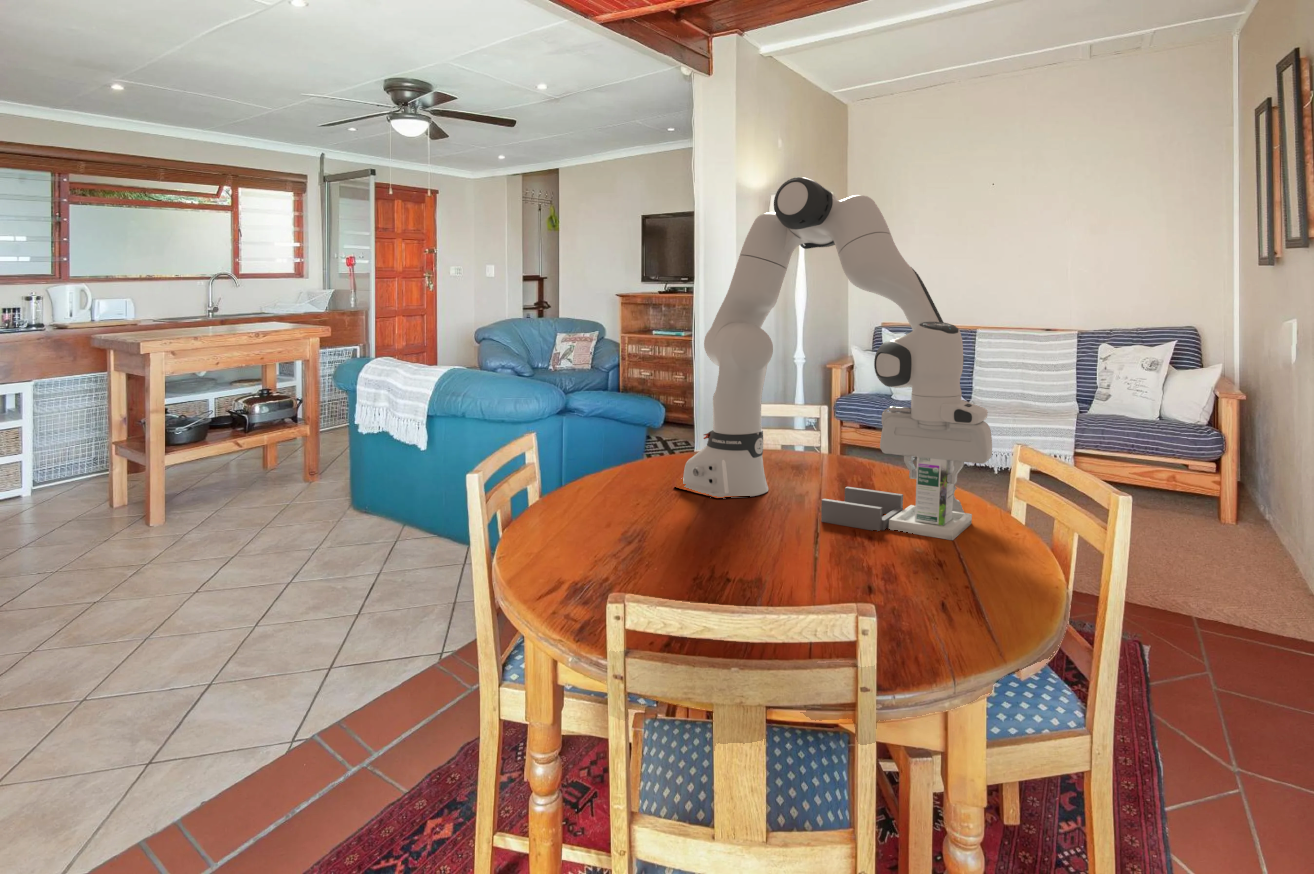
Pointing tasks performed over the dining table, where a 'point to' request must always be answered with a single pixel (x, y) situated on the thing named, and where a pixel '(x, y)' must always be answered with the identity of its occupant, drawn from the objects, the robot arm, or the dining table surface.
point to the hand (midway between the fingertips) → (932, 480)
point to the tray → (948, 531)
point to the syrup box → (933, 491)
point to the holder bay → (862, 509)
